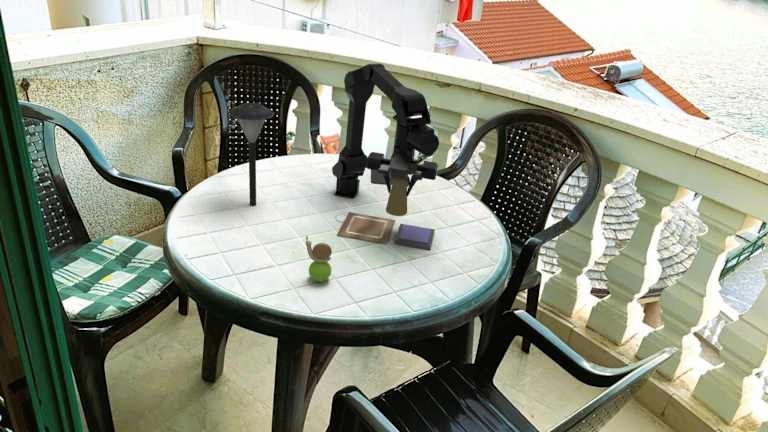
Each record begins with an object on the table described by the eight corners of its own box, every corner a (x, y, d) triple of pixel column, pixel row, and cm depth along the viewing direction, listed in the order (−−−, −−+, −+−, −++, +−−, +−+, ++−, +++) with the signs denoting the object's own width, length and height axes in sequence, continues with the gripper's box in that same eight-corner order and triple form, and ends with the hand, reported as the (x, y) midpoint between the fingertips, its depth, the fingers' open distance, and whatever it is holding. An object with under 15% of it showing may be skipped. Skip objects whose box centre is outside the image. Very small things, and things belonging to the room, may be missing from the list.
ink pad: (394, 244, 158) (394, 238, 157) (400, 227, 167) (400, 221, 166) (430, 250, 157) (430, 245, 156) (434, 233, 166) (434, 227, 165)
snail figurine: (304, 273, 142) (306, 230, 136) (330, 273, 142) (333, 232, 137) (303, 285, 137) (305, 242, 131) (330, 286, 138) (333, 243, 132)
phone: (392, 166, 205) (393, 183, 191) (391, 168, 205) (392, 186, 192) (371, 164, 204) (370, 182, 191) (371, 166, 205) (370, 184, 191)
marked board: (336, 235, 159) (336, 234, 159) (348, 213, 171) (349, 211, 171) (386, 244, 157) (386, 242, 157) (395, 221, 170) (395, 219, 169)
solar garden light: (270, 194, 177) (270, 99, 163) (277, 213, 167) (277, 113, 153) (229, 196, 173) (226, 99, 159) (233, 215, 163) (230, 114, 149)
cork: (407, 207, 162) (412, 171, 157) (406, 217, 157) (411, 181, 152) (386, 204, 163) (390, 168, 157) (384, 214, 157) (388, 178, 152)
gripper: (364, 146, 144) (358, 201, 151) (438, 158, 142) (428, 213, 149) (372, 131, 153) (367, 183, 161) (442, 142, 151) (433, 195, 159)
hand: (398, 194), depth 157 cm, fingers closed on cork, 5 cm apart
